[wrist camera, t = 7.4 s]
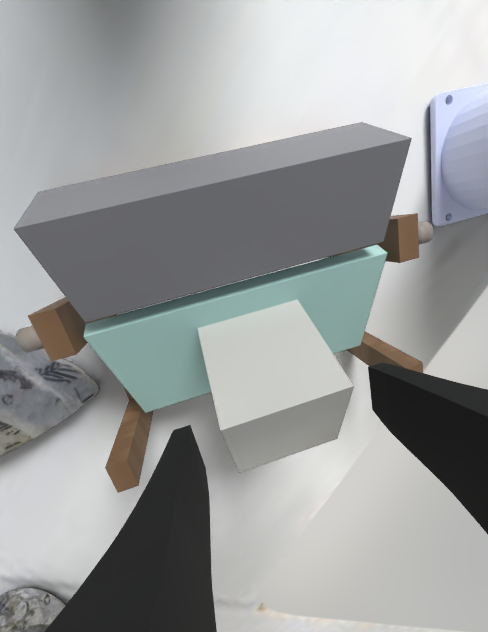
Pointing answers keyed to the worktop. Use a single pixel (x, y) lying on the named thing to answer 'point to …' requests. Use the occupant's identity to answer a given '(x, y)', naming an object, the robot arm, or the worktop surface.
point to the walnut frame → (130, 444)
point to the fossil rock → (36, 393)
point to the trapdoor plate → (220, 248)
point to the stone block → (273, 384)
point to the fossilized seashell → (28, 610)
